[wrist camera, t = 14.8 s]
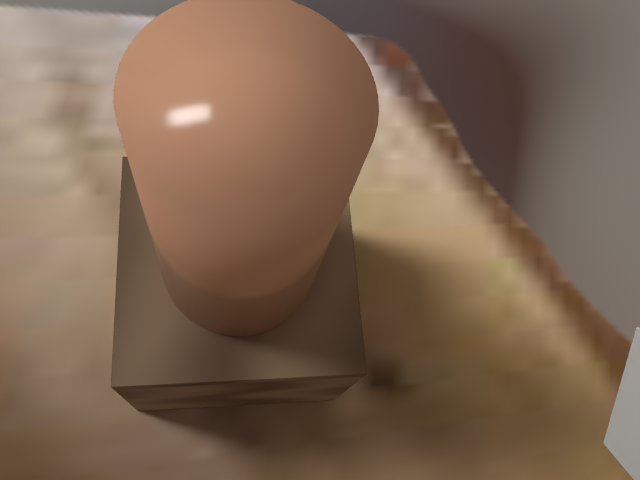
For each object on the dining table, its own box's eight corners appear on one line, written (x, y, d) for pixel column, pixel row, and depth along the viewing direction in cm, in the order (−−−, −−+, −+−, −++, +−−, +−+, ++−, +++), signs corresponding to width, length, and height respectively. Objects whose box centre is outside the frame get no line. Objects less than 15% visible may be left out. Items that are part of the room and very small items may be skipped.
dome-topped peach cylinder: (160, 339, 24) (105, 214, 13) (163, 194, 26) (119, -15, 15) (319, 333, 25) (393, 212, 14) (309, 193, 28) (365, -2, 17)
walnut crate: (138, 410, 31) (110, 386, 23) (144, 227, 34) (122, 156, 27) (334, 399, 32) (366, 373, 25) (320, 225, 36) (344, 158, 28)
